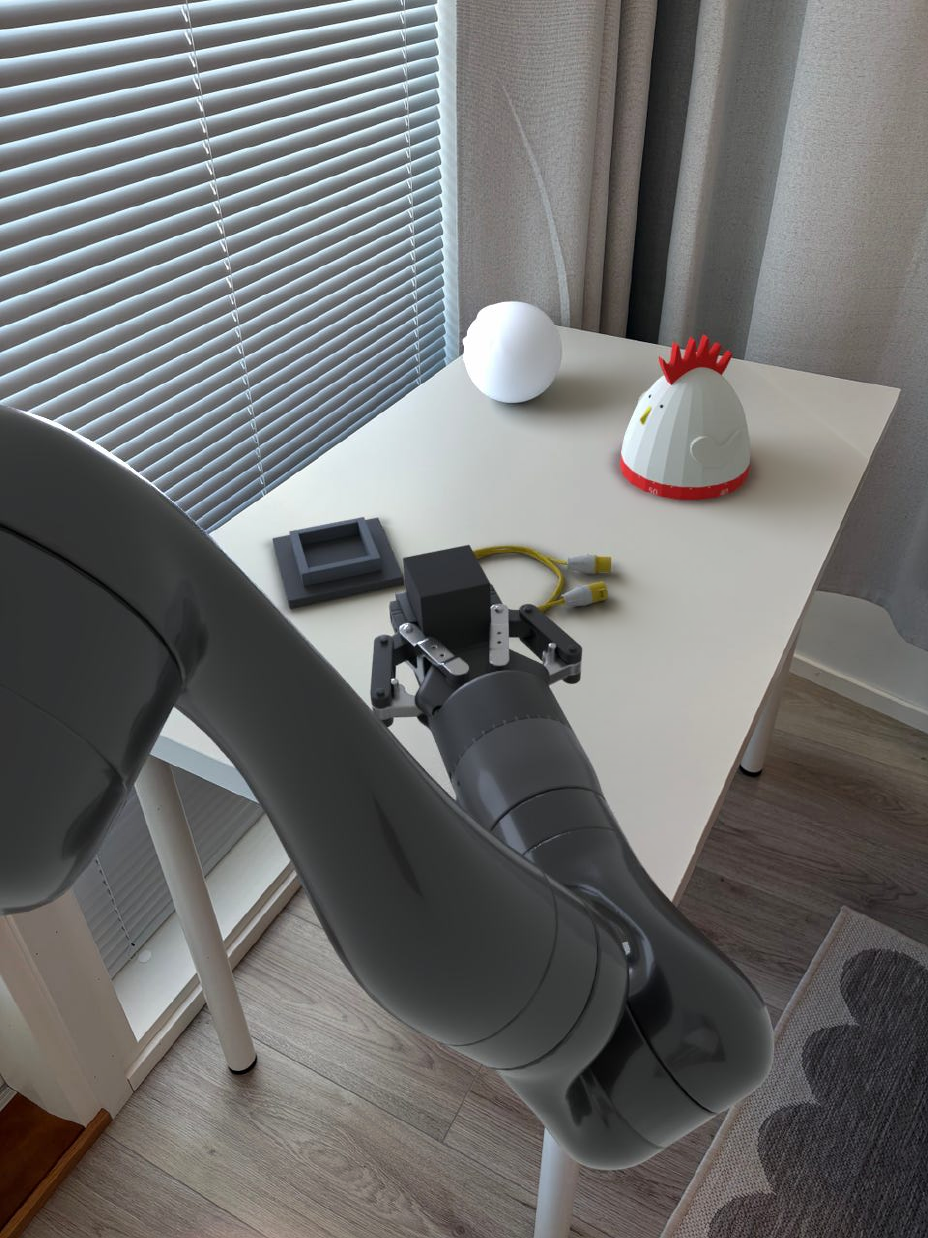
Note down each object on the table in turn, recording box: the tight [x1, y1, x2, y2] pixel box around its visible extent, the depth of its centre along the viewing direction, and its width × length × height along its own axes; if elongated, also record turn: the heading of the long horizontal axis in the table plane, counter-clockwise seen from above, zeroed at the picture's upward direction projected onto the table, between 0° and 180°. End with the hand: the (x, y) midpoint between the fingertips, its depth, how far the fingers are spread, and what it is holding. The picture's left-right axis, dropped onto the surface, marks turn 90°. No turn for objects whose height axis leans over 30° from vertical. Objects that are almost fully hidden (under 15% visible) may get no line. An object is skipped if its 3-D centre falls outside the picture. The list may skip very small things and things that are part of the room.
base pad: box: [271, 516, 405, 610], centre depth 93 cm, size 11×11×2 cm
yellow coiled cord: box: [472, 545, 612, 613], centre depth 89 cm, size 12×16×2 cm
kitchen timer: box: [619, 334, 751, 501], centre depth 100 cm, size 14×14×15 cm
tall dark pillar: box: [402, 544, 491, 688], centre depth 64 cm, size 5×5×10 cm
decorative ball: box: [462, 300, 563, 404], centre depth 116 cm, size 12×12×12 cm
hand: (437, 595), depth 66 cm, fingers closed on tall dark pillar, 4 cm apart
